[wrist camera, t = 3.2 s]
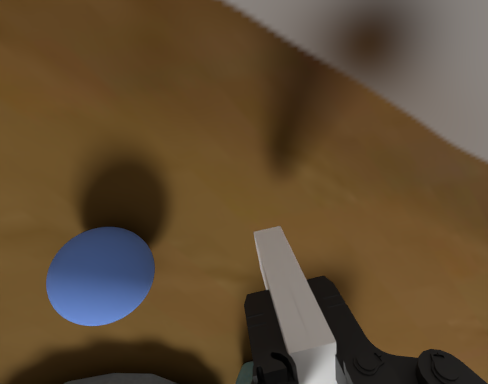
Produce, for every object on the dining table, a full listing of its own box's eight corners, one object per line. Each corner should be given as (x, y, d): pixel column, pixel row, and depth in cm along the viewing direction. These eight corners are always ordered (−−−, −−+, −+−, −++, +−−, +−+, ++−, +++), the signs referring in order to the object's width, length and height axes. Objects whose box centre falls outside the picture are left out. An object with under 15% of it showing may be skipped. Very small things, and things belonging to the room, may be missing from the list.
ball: (97, 283, 18) (56, 359, 13) (59, 221, 16) (-6, 285, 11) (170, 265, 18) (158, 334, 14) (145, 202, 16) (119, 257, 11)
